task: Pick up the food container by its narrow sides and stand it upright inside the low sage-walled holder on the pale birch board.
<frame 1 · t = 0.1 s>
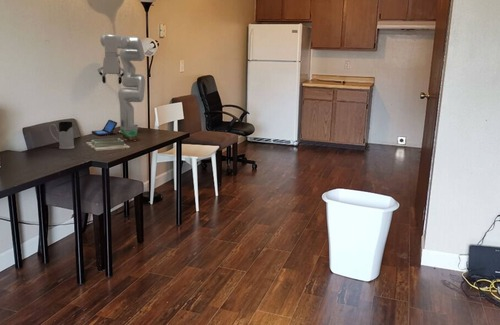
hand: (112, 83, 287), 37 cm above the table, tool pointing down, fingers open, 9 cm apart
food container: (132, 141, 301), on the table
glass holder: (62, 147, 274), on the table
holder stand: (107, 146, 282), on the table
game console: (104, 134, 321), on the table
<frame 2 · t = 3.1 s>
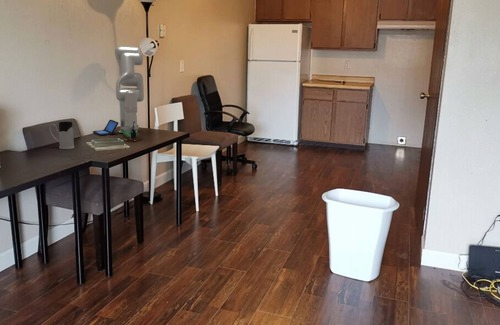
hand: (131, 137, 301), 2 cm above the table, tool pointing down, fingers closed on food container, 5 cm apart
food container: (132, 141, 301), on the table, touching gripper
everything else where it was.
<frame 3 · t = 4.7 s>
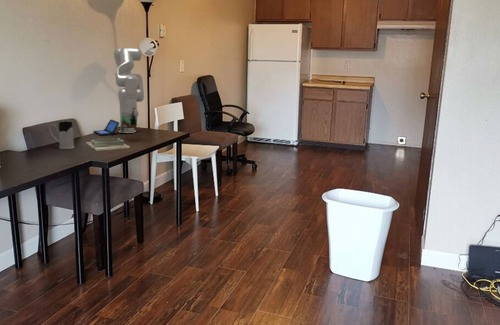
hand: (131, 123, 299), 11 cm above the table, tool pointing down, fingers closed on food container, 5 cm apart
food container: (132, 127, 299), point 9 cm above the table, touching gripper
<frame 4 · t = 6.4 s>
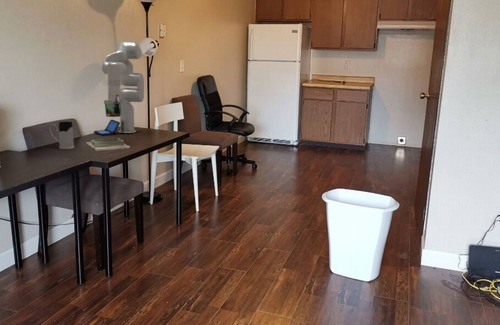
hand: (115, 112, 283), 20 cm above the table, tool pointing down, fingers closed on food container, 5 cm apart
food container: (115, 116, 283), point 18 cm above the table, touching gripper
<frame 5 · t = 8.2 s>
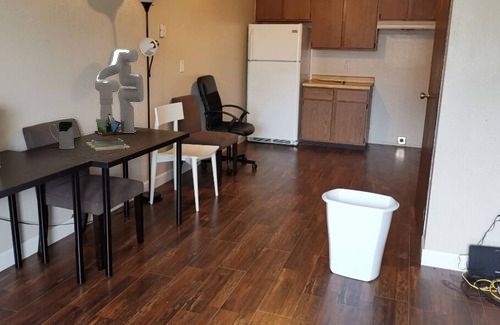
hand: (107, 130, 280), 9 cm above the table, tool pointing down, fingers closed on food container, 5 cm apart
food container: (107, 135, 280), point 7 cm above the table, touching gripper
when the fingers open (5 cm above the table, at t = 9.6 s): food container drops 1 cm, resting on holder stand.
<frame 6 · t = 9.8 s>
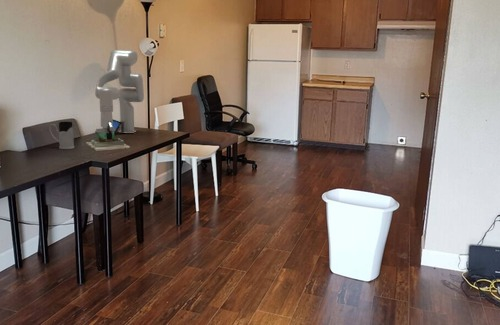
hand: (107, 137, 281), 5 cm above the table, tool pointing down, fingers open, 7 cm apart
food container: (109, 144, 281), point 1 cm above the table, touching gripper, holder stand
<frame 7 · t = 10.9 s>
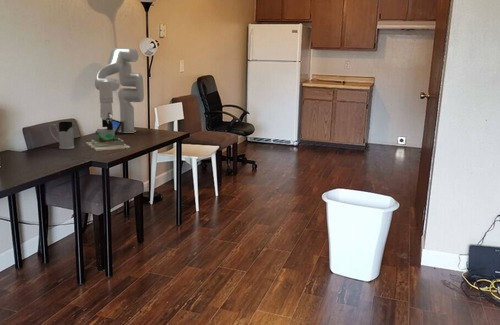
hand: (107, 128, 280), 11 cm above the table, tool pointing down, fingers open, 9 cm apart
food container: (109, 144, 281), point 1 cm above the table, touching holder stand
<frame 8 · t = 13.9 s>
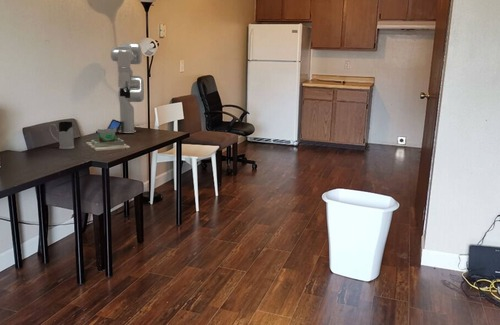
hand: (125, 97, 295), 28 cm above the table, tool pointing down, fingers open, 9 cm apart
at the end: food container 1.7 cm off-centre on the holder stand, point 0.8 cm above the holder stand's base; food container tilted 0°; the gripper is holding nothing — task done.
